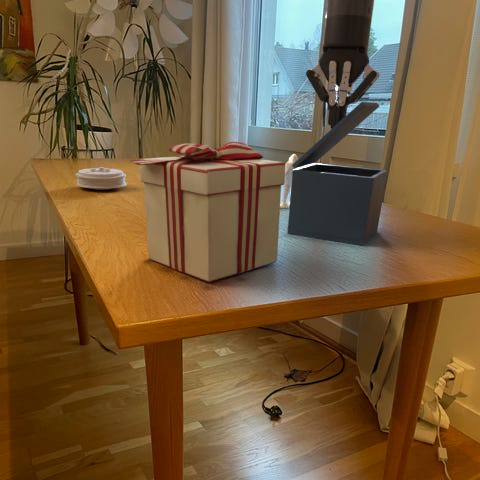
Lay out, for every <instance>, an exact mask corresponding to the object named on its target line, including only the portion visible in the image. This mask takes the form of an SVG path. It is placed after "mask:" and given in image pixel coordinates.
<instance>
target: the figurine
mask: <svg viewBox="0 0 480 480" xmlns="http://www.w3.org/2000/svg"><path fill="white" fill-rule="evenodd" d="M298 159H299V158H298V155H297V154H295V153H292V154H291V155H290V157H288V161H286V162H285V184H284V185H283V191H282V198H281V201H280V209H288V208H289V207H290V200H288V198H289V199H290V196H291V185H292V173H293V169H296V168H294V167H293V166H292V164H293V163H295V162H296V161H297V160H298ZM298 168H300V167H298ZM288 195H289V197H288ZM287 200H288V201H287Z"/></svg>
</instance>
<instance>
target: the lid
mask: <svg viewBox="0 0 480 480" xmlns="http://www.w3.org/2000/svg"><path fill="white" fill-rule="evenodd" d="M75 177H76V179H77V183H76V186H77V187H80V188H86V189H92V190H101V191H103V190H105V191H106V190H107V191H108V190H112V189H116V188H117V189H118V188H124V187H126V186H127V182H126V177H127V174H126V173H125V172H124V171H123V170H122V169H119V168H118V169H117V168H108V167H106V168H105V166H98V167H93V168H91V167H90V168H83V169H79V170H78V172H76V173H75Z"/></svg>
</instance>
